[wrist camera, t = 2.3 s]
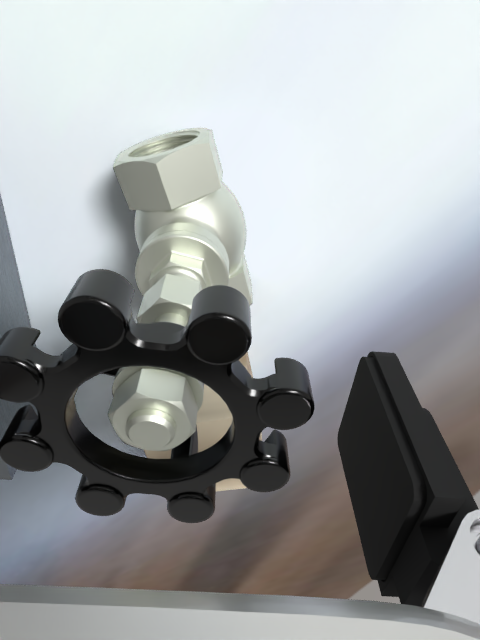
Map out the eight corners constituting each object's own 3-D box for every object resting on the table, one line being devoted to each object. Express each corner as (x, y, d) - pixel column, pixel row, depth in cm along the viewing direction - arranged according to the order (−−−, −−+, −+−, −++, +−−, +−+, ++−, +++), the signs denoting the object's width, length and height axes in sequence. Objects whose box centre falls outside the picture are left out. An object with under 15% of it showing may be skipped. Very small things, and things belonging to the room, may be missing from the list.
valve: (149, 291, 21) (71, 542, 11) (90, 151, 17) (-108, 338, 7) (286, 262, 20) (334, 504, 10) (255, 107, 16) (284, 254, 6)
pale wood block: (152, 356, 23) (134, 430, 19) (245, 343, 23) (248, 415, 19) (176, 420, 26) (165, 497, 22) (260, 410, 26) (264, 485, 21)
